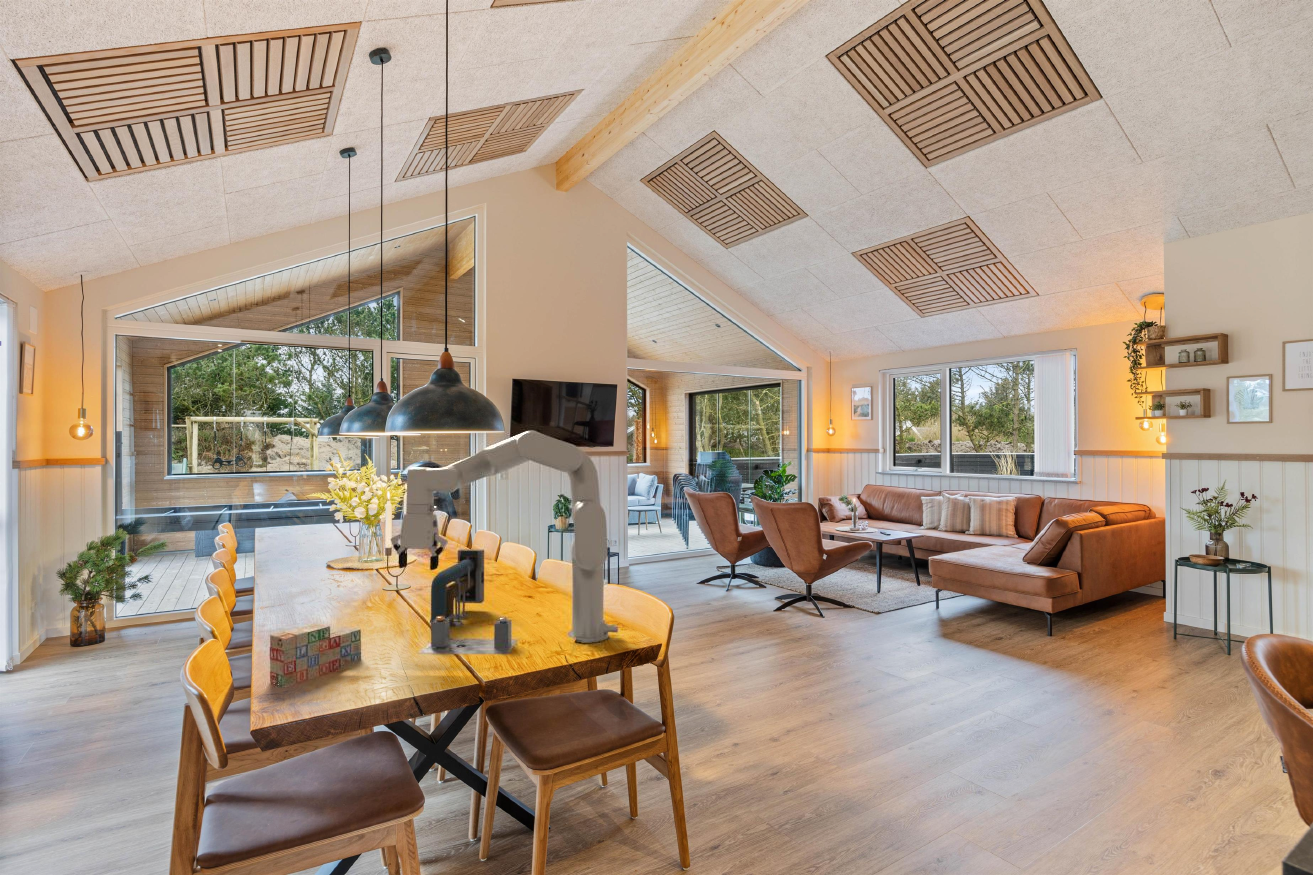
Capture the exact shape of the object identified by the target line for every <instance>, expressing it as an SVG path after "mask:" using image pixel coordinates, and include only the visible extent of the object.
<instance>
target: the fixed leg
mask: <svg viewBox="0 0 1313 875" xmlns="http://www.w3.org/2000/svg"><path fill="white" fill-rule="evenodd" d="M493 626H494V628H493V629H494V630H493V631H494V632H493V636H494V637H493V639H494V648H509V647H510V645H511V639H512V619H508V617H506V616H503V617H498V619H497V620H495V622H494V624H493Z"/></svg>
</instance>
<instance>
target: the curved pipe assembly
mask: <svg viewBox="0 0 1313 875" xmlns="http://www.w3.org/2000/svg"><path fill="white" fill-rule="evenodd" d="M484 602H485V550H484V549H466V548H464V549H462V548H461V549H458V550H457V563H455V564H454V565H452V566H450V567H448V568H446V569H443V570H441V571H439V572H438V573H437V574H436V575H435V576H434V577H433V579H432V580H431V586H430V619H429V623H430V624H431V622H432V621H433V620H435V619H436V617H437V616H445V619H450V627H451V628H452V627H453V628H455V627H459V628H460V627H461V626H462V625H463V626H464V623H463V621H462V620H466V619H467V618H468V614H465V613H466V604H483V603H484ZM461 604H462V613H461ZM463 626H462V627H463ZM462 627H461V628H462ZM430 632H431V629H430Z"/></svg>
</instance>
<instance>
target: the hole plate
mask: <svg viewBox="0 0 1313 875" xmlns="http://www.w3.org/2000/svg"><path fill="white" fill-rule="evenodd" d="M518 641H519V638H511V645H510V647H509V648H494V638H450V640H449V644H448V645H447V646H446V647H431V641H430V642H429V643H428V644H427V645H425V646H424V647H423V648H422V649H421V650H420V651H419V652H418V653H417V654H419V655H429V654H431V655H509V653H510V652H511V651H512V649H513V648H514V646H515V645H516V644H517V642H518Z"/></svg>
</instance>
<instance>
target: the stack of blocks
mask: <svg viewBox="0 0 1313 875" xmlns="http://www.w3.org/2000/svg"><path fill="white" fill-rule="evenodd" d="M361 631H362V630H361V628H356V627H351V626H347V625H346V626H342V627H340V628H334V629H332V630H331V625H325V624H321V623H316V622H315V623H311V624H306V625H303V626H299V627H295V628H291V629H287V630H284V631H281V632H280V631H278V632H275V633H272V634H270V635H269V641H270V642H269V644H270V645H269V646H270V647H269V671H270V672H269V682H271V683H270V684H273V683H275V684H274V685H276V684H279V685H281V686H280V687H282V686H287V687H289V686H288V685H290V686H292V684H293V685H296V683H297V684H299V683H302V682H305V681H309V680H313V679H316V678H318V677H321V676H324V675H327V674H330V673H333V672H337V671H340V670H339V669H341V668H342V667H344V666H345V665H346V664H348V663H351V662H355V661H357V660H361V659H362V632H361ZM336 670H337V671H336ZM279 685H278V686H279Z"/></svg>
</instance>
